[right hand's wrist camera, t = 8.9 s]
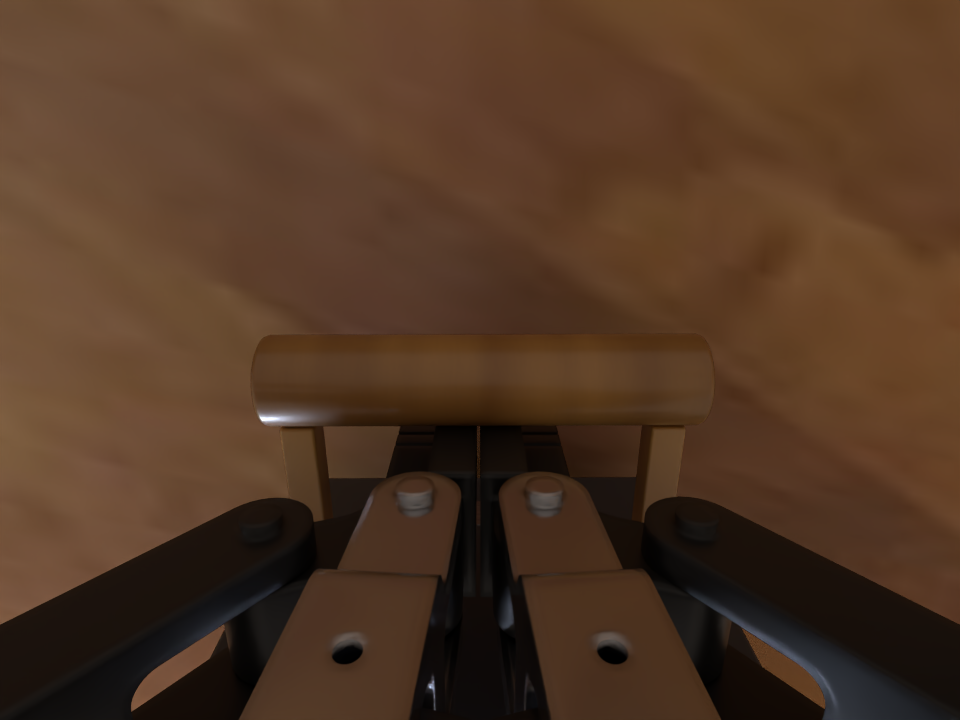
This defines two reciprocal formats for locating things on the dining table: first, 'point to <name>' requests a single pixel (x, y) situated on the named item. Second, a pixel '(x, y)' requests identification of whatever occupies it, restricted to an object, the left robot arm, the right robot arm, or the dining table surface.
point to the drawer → (484, 402)
